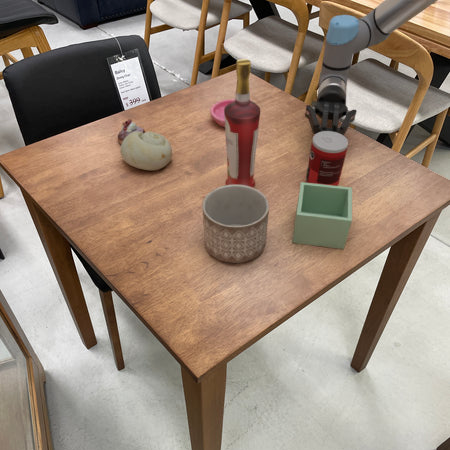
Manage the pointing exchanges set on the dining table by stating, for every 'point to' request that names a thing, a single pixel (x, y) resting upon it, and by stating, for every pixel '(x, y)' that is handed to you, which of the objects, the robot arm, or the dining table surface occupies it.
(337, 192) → the box
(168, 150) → the seashell
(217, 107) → the saucer
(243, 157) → the liquor
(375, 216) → the dining table surface
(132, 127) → the pinkish grey lump
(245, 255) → the planter
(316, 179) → the canned food
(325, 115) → the robot arm
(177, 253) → the dining table surface
